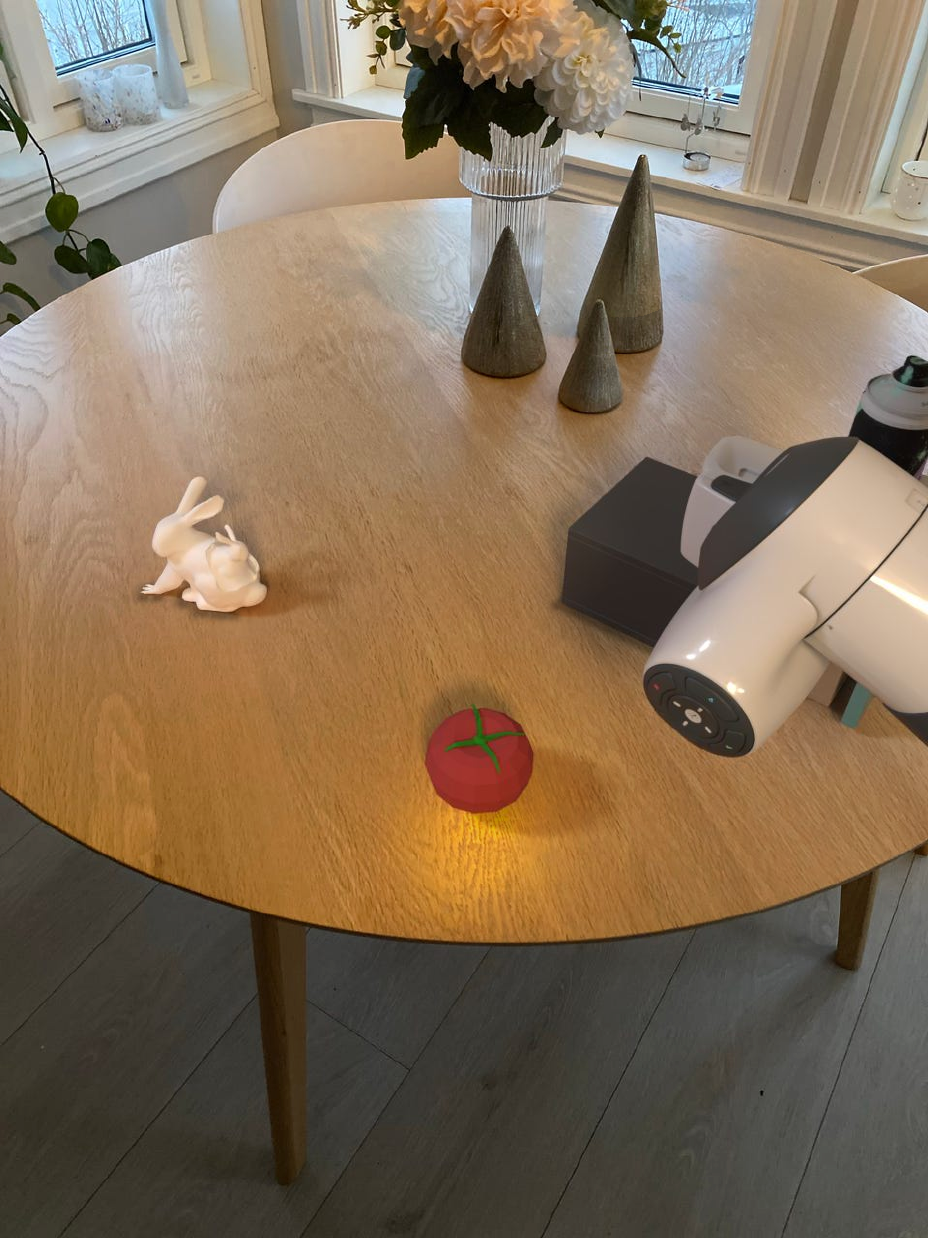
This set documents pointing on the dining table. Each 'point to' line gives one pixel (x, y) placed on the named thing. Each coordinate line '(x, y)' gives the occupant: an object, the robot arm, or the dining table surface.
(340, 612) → the dining table surface
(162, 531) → the rabbit figurine
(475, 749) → the tomato
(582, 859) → the dining table surface
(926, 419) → the spray can
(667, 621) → the cabinet
